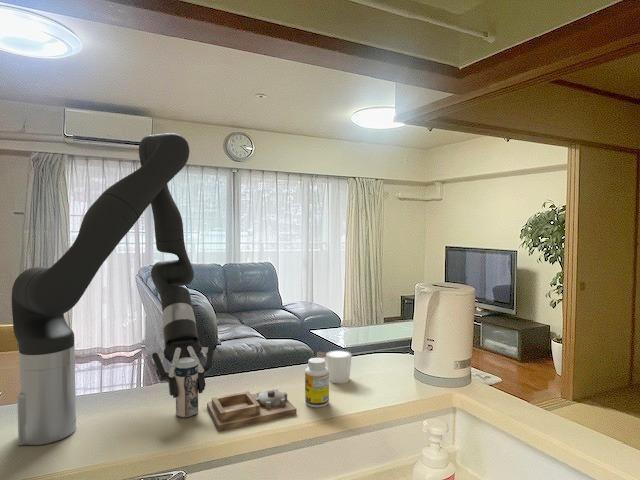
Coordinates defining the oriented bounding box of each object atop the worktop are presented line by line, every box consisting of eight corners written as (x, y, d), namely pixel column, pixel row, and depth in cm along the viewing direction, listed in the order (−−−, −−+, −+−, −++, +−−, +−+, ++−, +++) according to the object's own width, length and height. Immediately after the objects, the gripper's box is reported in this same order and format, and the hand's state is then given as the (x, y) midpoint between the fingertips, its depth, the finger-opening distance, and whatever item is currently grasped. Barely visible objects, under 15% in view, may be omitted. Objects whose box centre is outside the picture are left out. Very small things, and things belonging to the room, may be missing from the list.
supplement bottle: (305, 398, 100) (304, 356, 100) (328, 398, 100) (328, 356, 100) (305, 408, 94) (304, 364, 94) (329, 408, 95) (329, 363, 94)
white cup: (352, 384, 109) (352, 357, 109) (326, 384, 109) (326, 357, 109) (350, 374, 116) (350, 349, 116) (326, 374, 116) (326, 349, 116)
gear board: (219, 431, 84) (219, 414, 84) (207, 407, 95) (206, 393, 95) (296, 414, 92) (296, 398, 92) (277, 394, 102) (277, 380, 102)
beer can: (191, 419, 89) (191, 364, 89) (171, 417, 90) (170, 362, 90) (202, 409, 94) (201, 357, 93) (183, 408, 95) (182, 355, 94)
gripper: (148, 321, 95) (154, 392, 84) (211, 314, 101) (224, 380, 91) (146, 338, 100) (152, 407, 89) (207, 331, 106) (219, 395, 96)
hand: (188, 393), depth 90 cm, fingers closed on beer can, 4 cm apart
